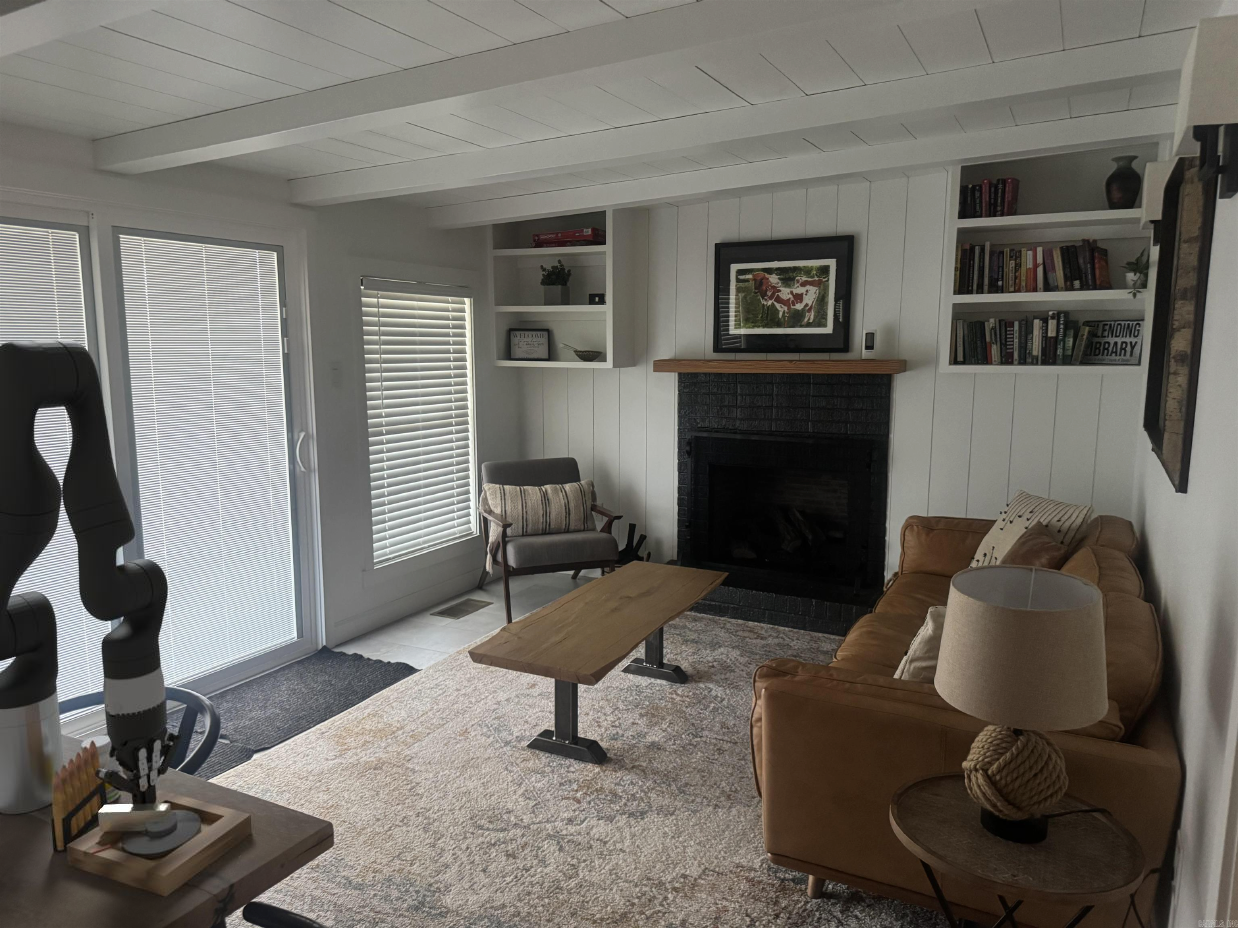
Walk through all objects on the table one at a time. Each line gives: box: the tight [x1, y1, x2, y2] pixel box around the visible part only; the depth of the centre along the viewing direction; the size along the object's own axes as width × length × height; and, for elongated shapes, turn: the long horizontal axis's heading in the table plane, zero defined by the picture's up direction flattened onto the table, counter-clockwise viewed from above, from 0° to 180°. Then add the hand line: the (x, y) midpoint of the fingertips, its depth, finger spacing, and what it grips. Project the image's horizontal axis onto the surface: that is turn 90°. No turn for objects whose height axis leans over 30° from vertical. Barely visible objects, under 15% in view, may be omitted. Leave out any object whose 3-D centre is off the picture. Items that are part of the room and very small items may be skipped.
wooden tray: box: [66, 789, 253, 898], centre depth 117 cm, size 18×15×3 cm
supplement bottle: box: [80, 735, 121, 804], centre depth 129 cm, size 5×5×10 cm
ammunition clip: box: [50, 740, 108, 853], centre depth 121 cm, size 11×2×12 cm, turn 3°
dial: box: [98, 803, 201, 860], centre depth 117 cm, size 13×10×5 cm
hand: (145, 809), depth 120 cm, fingers closed
